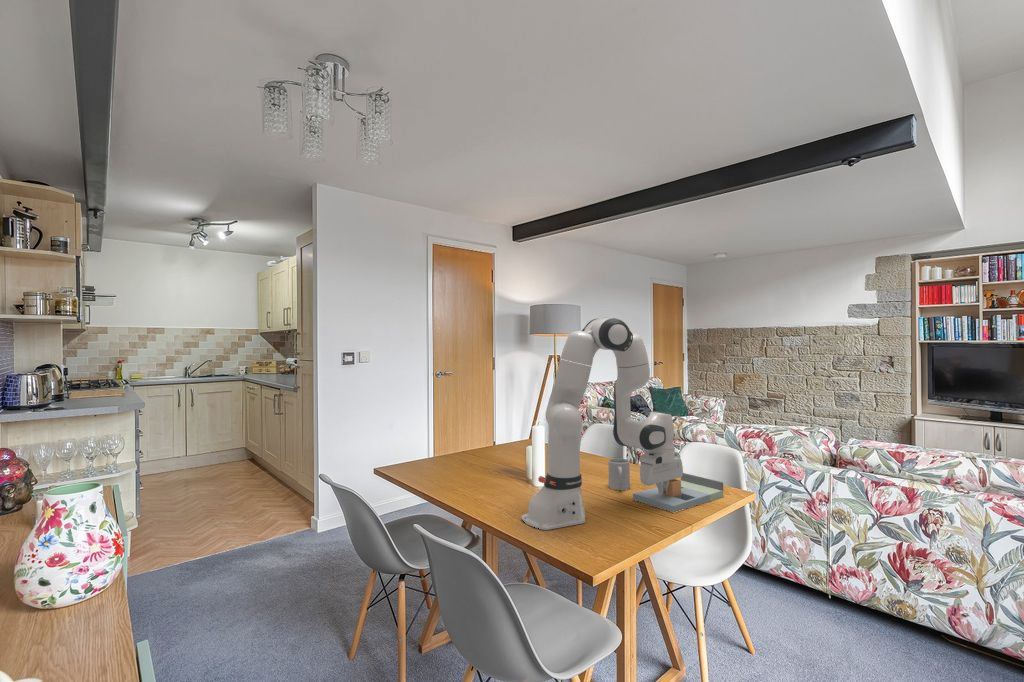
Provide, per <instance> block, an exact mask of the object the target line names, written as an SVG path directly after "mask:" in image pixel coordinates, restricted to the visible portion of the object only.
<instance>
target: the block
mask: <svg viewBox="0 0 1024 682" xmlns="http://www.w3.org/2000/svg"><path fill="white" fill-rule="evenodd" d="M680 480H681V479H680ZM680 480H679V479H677V478H676V479H672V480H669V485H668V488H667V493H664V494H665V495H668V496H672V497H674V496H677V495H681V481H680Z"/></svg>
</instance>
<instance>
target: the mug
mask: <svg viewBox="0 0 1024 682" xmlns="http://www.w3.org/2000/svg"><path fill="white" fill-rule="evenodd" d="M607 461H608V466H607V467H608V468H607V469H608V488H609V489H610V488H611V490H613V489H615V490H614V491H619V490H623V491H627V490H626V489H628V490H630V489H629V488H631V479H630V478H631V477H630V475H631V473H630V472H631V471H630V460H629V459H627V458H620V457H619V458H618V457H617V458H610V459H608V460H607Z"/></svg>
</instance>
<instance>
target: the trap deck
mask: <svg viewBox="0 0 1024 682" xmlns="http://www.w3.org/2000/svg"><path fill="white" fill-rule="evenodd" d="M680 481H681V495H677V496H674V497H672V496H668V495H665V494H659V493H658V487H657V486H656V487H652V488H648V489H644V490H640V491H637V492H633V493H632V501H634V500H636V501H635V502H637V501H639V502H638V503H640V502H642V503H641V504H643V503H645V504H644V505H646V504H648V505H647V506H649V505H651V506H650V507H652V506H654V507H653V508H655V507H657V508H656V509H658V508H661V509H664V510H663V511H665V510H668V511H671V512H676V511H679V510H682V509H686V508H689V507H692V506H695V507H697V506H696V505H698V506H700V505H699V504H701V505H703V503H704V504H706V502H707V503H709V501H710V502H712V501H715V500H718V499H721V498H724V481H720V480H715V479H712V478H707V477H702V476H697V475H694V474H690V473H685V472H683V475H682V477H680ZM692 508H693V507H692ZM661 509H660V510H661ZM689 509H690V508H689ZM686 510H687V509H686ZM668 511H667V512H668ZM671 512H670V513H671Z"/></svg>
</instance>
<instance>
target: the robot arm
mask: <svg viewBox="0 0 1024 682" xmlns="http://www.w3.org/2000/svg"><path fill="white" fill-rule="evenodd" d="M598 350H609V351H610V350H611V351H612V353H613V354H614V357H615V362H616V370H617V374H616V375H617V376H616V377H617V378H616V380H615V382H614V385H613V406H614V407H613V408H614V410H613V411H614V422H613V429H612V435H613V438H614V440H615V442H616V443H617V444H618V445H619V446H622V447H627V448H628V447H630V448H635V449H639V450H645V451H646V452H644V453H643V454H641V456H640V457H639V461H640V462H641V464H640V467H639V476H640V477H639V480H640V483H641V485H645V486H650V487H651V486H653V485H656V487H658V493H659V494H664V493H667V488H668V485H669V480H672V479H676V480H677V479H679V478H680V479H681V477H682V475H683V473H684V466H683V461H682V459H681V455H680V453H679V452H677V451H675V444H674V437H675V427H674V426H675V425H674V419H673V416H672V415H671V414H670V413H669V412H665V411H660V410H652V411H650V413H649V415H648V416H647V417H646V418H645V419H643V420H642V421H640V420H639V421H638V420H634V418H633V417H632V413H631V410H632V407H631V397H632V394H633V393H634V392H635V391H637V390H640V389H641V388H642V387H643V388H644V386H645V385H646V384H647V383H648V382H649V380H650V376H651V370H650V364H649V358H648V353H647V349H646V345H645V343H644V339H643V338H642V336H641V335H640V334H637V333H635V332H632V331H631V330H630V328H629V326H628V324H627V323H625V321H623V320H622V319H618V318H616V317H615V318H614V317H613V318H611V317H599V318H594V319H591V320H590V321H588V322H587V324H586V325H585V326H584V327H583V328H582V329H581V330H574V331H571V333H569V334H568V336H567V338H566V341H565V344H564V345H563V348H562V352H561V354H560V360H559V362H558V367H557V370H556V371H557V372H556V377H555V380H554V384H553V386H552V389H551V393H550V395H549V398H548V403H547V406H546V410H545V420H546V422H547V425H548V439H547V440H548V441H547V442H548V443H547V473H546V475H545V476H541V475H540V476H538V477H537V481H538V482H539V483H541V484H543V486H542V487H541V488H540V490H538V492H536V493H535V495H534V496H532V498H531V499H530V500H529V501H528V508H527V513H524V514H522V515H521V516H520V519H522V520H523V521H524V522H525V523H524V522H523V521H522V520H521V521H522V522H523V523H524V524H526V525H527V526H530V527H532V528H534V527H535V529H538V528H539V529H538V530H542V531H543V530H544V531H548V530H553V529H561V528H565V527H570V526H571V527H572V526H574V525H575V526H576V525H581V524H585V523H586V517H587V514H586V512H585V508H584V503H583V502H584V501H583V496H582V488H581V487H582V485H583V482H582V480H583V479H582V473H581V444H582V443H581V442H582V431H583V430H582V425H583V418H582V414H581V412H580V410H579V409H580V406H581V403H582V400H583V397H584V395H585V393H586V392H587V388H588V384H589V379H590V374H591V371H592V366H593V362H594V358H595V355H596V353H597V352H598Z"/></svg>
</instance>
